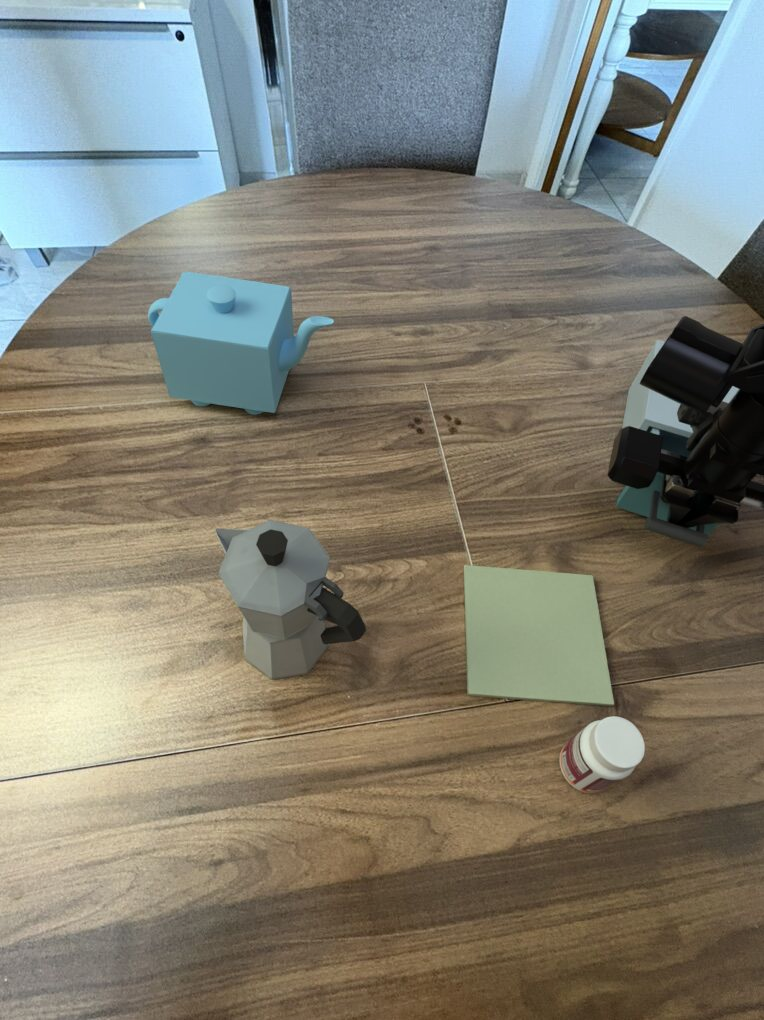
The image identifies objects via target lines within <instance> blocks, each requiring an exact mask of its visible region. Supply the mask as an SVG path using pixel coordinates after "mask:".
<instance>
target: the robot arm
mask: <svg viewBox="0 0 764 1020" xmlns="http://www.w3.org/2000/svg"><path fill="white" fill-rule="evenodd" d="M664 342H665V343H664V345H663V346H662V347H661V349H660V350H659V352H658V353H657V355H656V356H655V358H654V359H653V361H652V362H651V364H650V365H649V367H648V369H647V370H646V372H645V374H644V376H643V377H642V379H641V381H640V383H639V384H640V385H642V386H644V387H646V388H648V389H650V390H653V391H655V392H657V393H659V394H661V395H663V396H665V397H667V398H669V399H671V400H673V401H675V402H677V403H679V404H681V405H680V406H679V408H678V411H677V416H678V420H679V422H681V423H684V424H688V425H690V427H691V428H692V430H693V433H692V435H691V436H690V438H689V439H688V440H687V445H686V450H690V451H691V453H690V455H689V456H688V457H685V456H682V455H679V454H676V453H673V452H669V451H666V450H663V449H661V448H662V440H663V436H661V435H657V434H654V433H651V432H648V431H644V430H641V429H638V428H635V427H631V426H626V427H624V428H622V427H621V429H619V431H618V433H617V434H616V436H615V438H614V440H613V444H612V449H611V455H610V460H609V464H608V469H607V477H608V478H609V479H610V481H611V482H614V483H616V484H620V485H622V486H625V487H626V486H629V487H632V488H635V489H642V488H647V487H649V486H650V485H651V484H652V482H653V481H654V479H655V476H656V474H657V472H659V473H663V482H662V490H661V500H662V501H663V502H664V503H667V504H669V505H670V507H669V512H668V517H667V522H670V523H673V524H676V525H680V526H683V527H686V528H690V527H695V526H700V525H707V524H715V523H720V524H721V523H722V524H723V523H726V524H729V525H733V524H735V523H737V522H738V521H739V509H740V508H741V506H742V505H747V506H749V507H752V508H756V509H758V510H762V511H764V484H763V483H759V482H756V481H753V479H755V477H756V476H757V475H759V476H762V477H764V323H762V324H760V325H757V326H754V327H752V328H751V329H750V330H749V332H748V333H747V335H746V337H745V339H744V341H743V342H740V341H738V340H736V339H733V338H731V337H729V336H726V335H724V334H722V333H720V332H717V331H715V330H713V329H711V328H709V327H707V326H705V325H703V324H702V323H701V322H700V321H698V320H696V319H694V318H692V317H689V316H687V315H684V316H682V317H681V318H680V319H679V321H678V322H677V324H676V325H675V326H674V328H673V330H672V332H671V333H670V334H669V335H668V337H667V338H666V340H665V341H664ZM732 386H734V387H736V388H738V389H739V390H738V391H737V393H736V394H735V395H734V397H733V398H732V399H731V401H730V402H729V403H726V402H723V401H722V400H723V399H724V398H725V396H726V395H727V393H728V392H729V391H730V389H731V388H732ZM697 490H699V491H698V492H697V493H696V494H695V495H694V496H693V494H694V493H695V492H696V491H697Z"/></svg>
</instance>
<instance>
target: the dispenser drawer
mask: <svg viewBox="0 0 764 1020" xmlns="http://www.w3.org/2000/svg"><path fill="white" fill-rule="evenodd" d="M647 431H648V432H651V433H654V434H657V435H661V436H663V440H662V448H661V449H663V450H666V451H669V452H673V453H676V454H679V455H682V456H685V457H688V456H689V455H690V453H691V451H690V450H686V445H687V440H688V439H689V438H688V437H685V436H681V435H678V434H675V433H671V432H668V431H665V430H661V429H658V428H655V427H651V426H649V428H648V429H647ZM662 482H663V473H659V472H657V474H656V476H655V479H654V481H653V482H652V484H651V485H650V486H649V487H647V488H642V489H635V488H632V487H629V486H626V485H625V487H624V488H623V490H622V491H621V493H620V494H619V496H618V497H617V499H616V504H615V508H618V509H622V510H625V511H627V512H630V513H633V514H636V515H640V516H642V517H646V520H645V523H644V530H645V531H649V532H651V533H654V534H658V535H660V536H665V537H667V538H670V539H673V540H677V541H680V542H682V543H685V544H690V545H692V546H695V547H699V548H701V549H703V548H705V546H706V545H707V543H708V539H709V536H710V534H712V533H713V532H714V530H715V529H716V528H717V527H718V526H719V525H721V523H715V524H707V525H700V526H695V527H690V528H686V527H683V526H680V525H676V524H673V523H670V522H667V517H668V512H669V507H670V505H669V504H667V503H664V502H663V501H662V500H661V490H662ZM698 491H699V490H697V491H696V492H695V493H694V494H693V496H694V495H695V494H696V493H697V492H698Z"/></svg>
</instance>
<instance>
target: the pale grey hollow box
mask: <svg viewBox="0 0 764 1020" xmlns="http://www.w3.org/2000/svg"><path fill="white" fill-rule="evenodd" d="M665 342H666V341H664V340H661V339H656V340H655V342H654V343H653V346H652V347H651V349H650V351H649V353H648V355H647V356H646V359H644V362H643V364H642V366H641V367H640V369H639V371H638V373H637V374H636V376H635V378H634V380H633V381H632V383H631V384H630V386H629V389H628V392H627V396H626V397H627V398H626V403H625V408H624V414H623V419H622V426H621V429H622V428H624V427H626V426H631V427H635V428H638V429H641V430H644V431H647V429H648V428H649V426H651V427H655V428H658V429H661V430H665V431H668V432H671V433H675V434H678V435H681V436H685V437H688V438H690V436H691V435H692V433H693V430H692V428H691V427H690V425H688V424H684V423H681V422H679V420H678V416H677V411H678V408H679V406H680V405H681V404H679V403H677V402H675V401H673V400H671V399H669V398H667V397H665V396H663V395H661V394H659V393H657V392H655V391H653V390H650V389H648V388H646V387H644V386H642V385H640V384H639V383H640V381H641V379H642V377H643V376H644V374H645V372H646V370H647V369H648V367H649V365H650V364H651V362H652V361H653V359H654V358H655V356H656V355H657V353H658V352H659V350H660V349H661V347H662V346H663V345H664V343H665ZM738 390H739V389H738V388H736V387H734V386H732V388H731V389H730V391H729V392H728V393H727V395H726V396H725V398H724V399H723V400H722V401H723V402H726V403H729V402H730V401H731V399H732V398H733V397H734V395H735V394H736V393H737V391H738Z"/></svg>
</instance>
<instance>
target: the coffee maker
mask: <svg viewBox="0 0 764 1020" xmlns="http://www.w3.org/2000/svg"><path fill="white" fill-rule="evenodd" d="M214 533H215V535H216V537H217V539H218V542H219V543H220V546H221V548H222V550H223V553H224V554H225V556H224V558H223V559H222V563H221V565H220V568H219V570H218V576H219V577H220V579H221V581H222V582H223V584H224V586H225V588H226V589H227V591H228V593H229V594H230V596H231V598H232V600H233V601H234V603H235V605H236V606H237V608H238V609H239V610H240V612H241V614H242V615H243V616H242V618H243V619H242V627H241V629H242V643H243V655H244V656H243V657H244V661H245V662H247V663H248V665H249V664H250V666H252V667H254V668H255V669H256V670H258V671H259V672H260V673H261V674H263V675H264V676H265V677H267V678H268V679H270V680H271V681H274V680H281V679H285V678H292V677H298V676H304V675H308V674H309V673H310V672H311V670H312V669H313V668H314V666H315V665H316V664H317V663H318V661H319V660H320V659H321V658H322V657H323V655H324V654H325V652H326V651H327V650H328V648H329V645H333V644H342V643H353V642H356V641H359V640H361V639H362V638H363V636H364V634H366V632H367V626H366V624H365V622H364V620H363V618H362V616H361V614H360V612H359V611H358V610H357V608H355V606H354V605H352V604H351V603H349V602H348V601H346V600H345V599H343V597H344V593H345V592H344V591H343V590H342V589H341V588H340V587H339V585H338V584H337V583H335V582H334V581H332V580H331V579H329V578H328V577H327V574H328V570H329V569H328V568H329V566H330V561H331V557H330V556H329V554H328V552H327V551H326V550H325V548H324V547H323V545H322V544H321V542H320V541H319V540H318V539H317V537H316V535H315V534H314V532H313V531H312V530H311V528H310V527H307V526H302V525H298V524H293V523H287V522H284V521H279V520H273V519H267V520H266V521H264V522H262V523H260V524H258V525H256V526H254V527H251V528H247V529H246V528H224V527H223V528H221V527H217V528H215V529H214ZM326 621H327V622H329V623H332V624H333V626H328V627H326Z"/></svg>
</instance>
